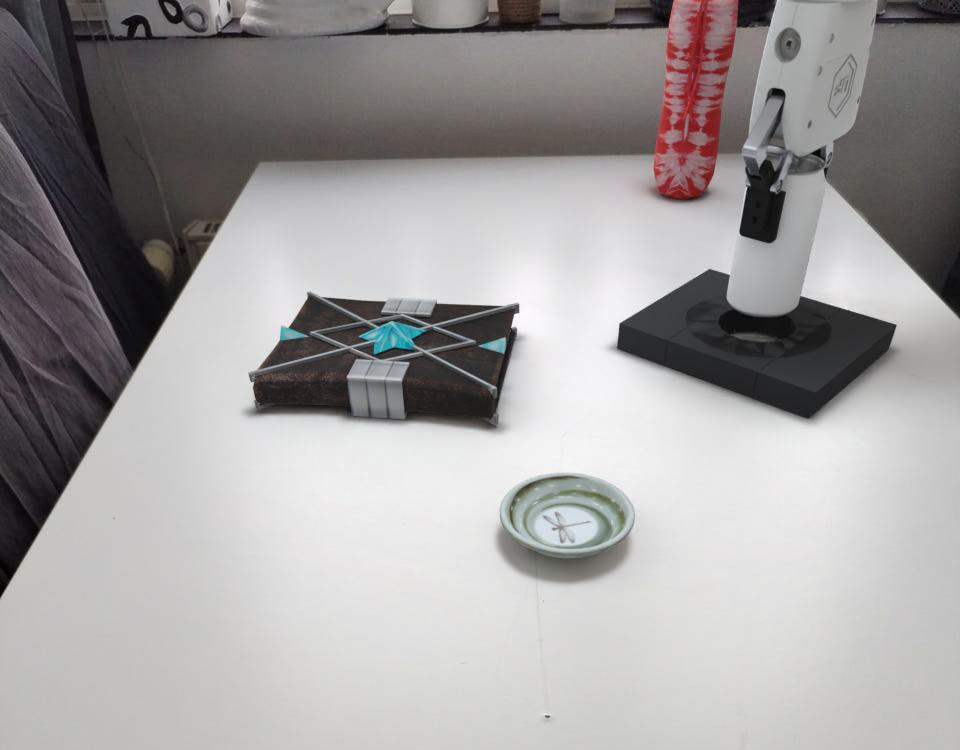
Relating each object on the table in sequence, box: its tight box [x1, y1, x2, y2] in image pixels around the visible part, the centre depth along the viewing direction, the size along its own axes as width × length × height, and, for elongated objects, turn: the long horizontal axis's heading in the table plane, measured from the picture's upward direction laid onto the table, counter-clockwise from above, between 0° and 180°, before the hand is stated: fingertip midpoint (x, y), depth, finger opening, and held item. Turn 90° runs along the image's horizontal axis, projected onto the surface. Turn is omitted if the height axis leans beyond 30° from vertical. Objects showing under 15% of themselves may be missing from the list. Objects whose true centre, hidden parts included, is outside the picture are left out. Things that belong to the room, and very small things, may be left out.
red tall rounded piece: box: [653, 0, 739, 200], centre depth 107 cm, size 12×8×25 cm, turn 162°
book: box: [247, 290, 520, 427], centre depth 81 cm, size 22×17×5 cm
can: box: [727, 154, 827, 318], centre depth 77 cm, size 6×6×12 cm
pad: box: [616, 268, 897, 419], centre depth 84 cm, size 20×16×2 cm
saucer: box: [499, 472, 636, 559], centre depth 64 cm, size 10×10×2 cm
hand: (778, 224), depth 77 cm, fingers closed on can, 6 cm apart
